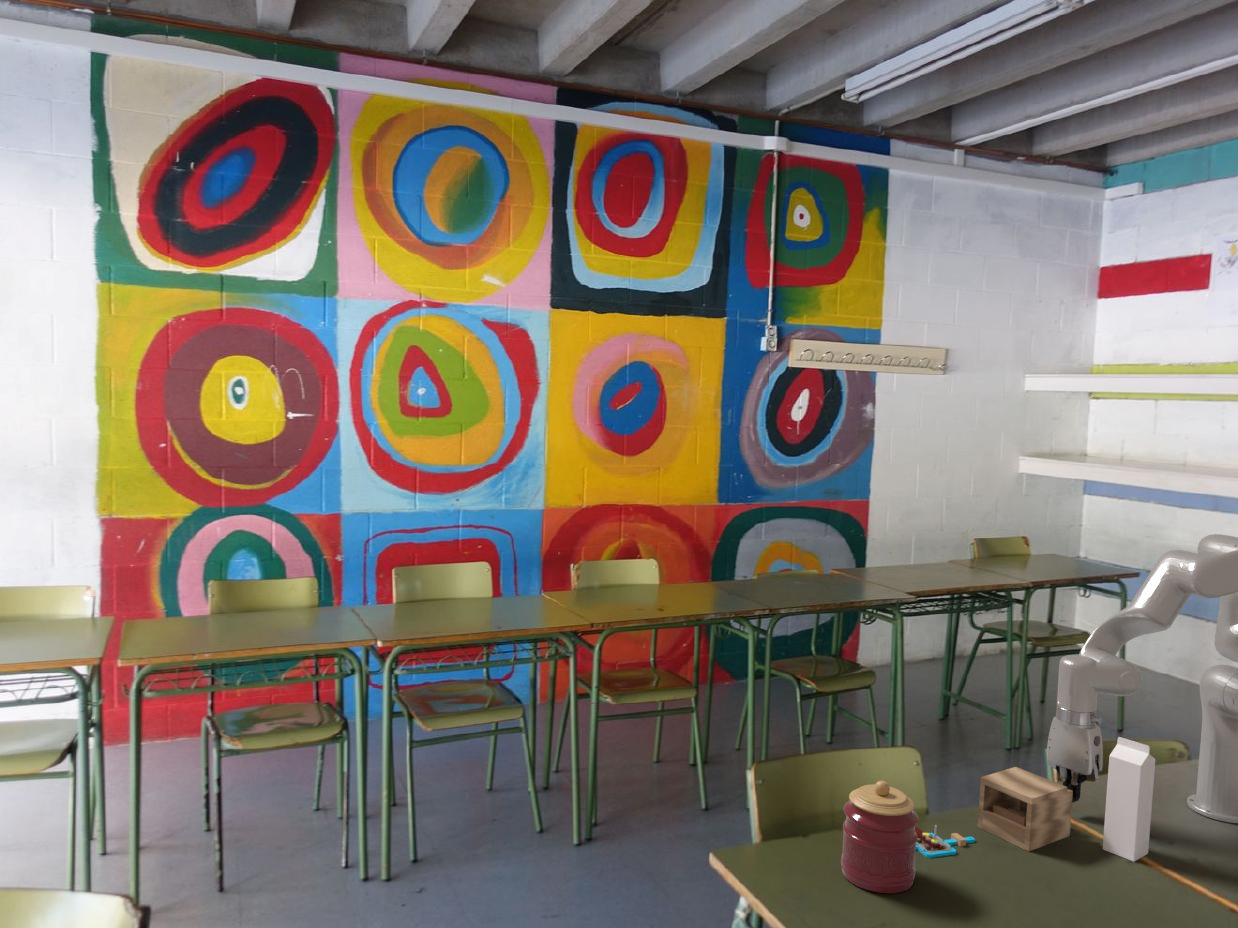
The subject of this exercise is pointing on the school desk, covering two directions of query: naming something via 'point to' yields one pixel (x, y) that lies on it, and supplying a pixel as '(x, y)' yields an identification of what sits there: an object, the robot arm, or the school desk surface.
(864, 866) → the canister
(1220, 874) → the school desk surface
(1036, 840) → the shelf
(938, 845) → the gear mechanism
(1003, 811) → the caddy
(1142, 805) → the milk
